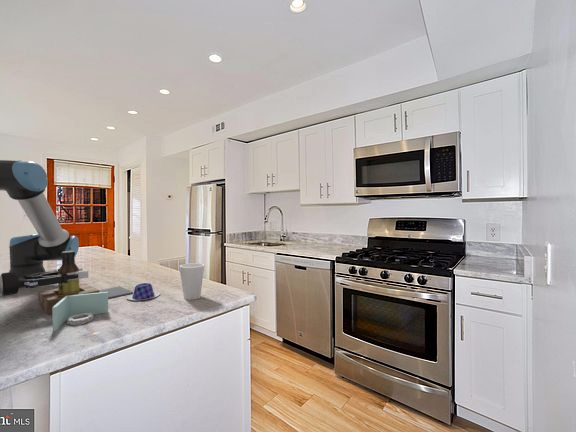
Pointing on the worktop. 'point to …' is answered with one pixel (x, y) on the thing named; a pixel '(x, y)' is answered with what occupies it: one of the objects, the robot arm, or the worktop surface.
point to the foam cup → (192, 280)
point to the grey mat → (116, 292)
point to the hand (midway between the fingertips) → (84, 272)
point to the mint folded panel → (79, 308)
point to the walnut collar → (60, 296)
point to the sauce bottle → (68, 267)
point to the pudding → (143, 292)
